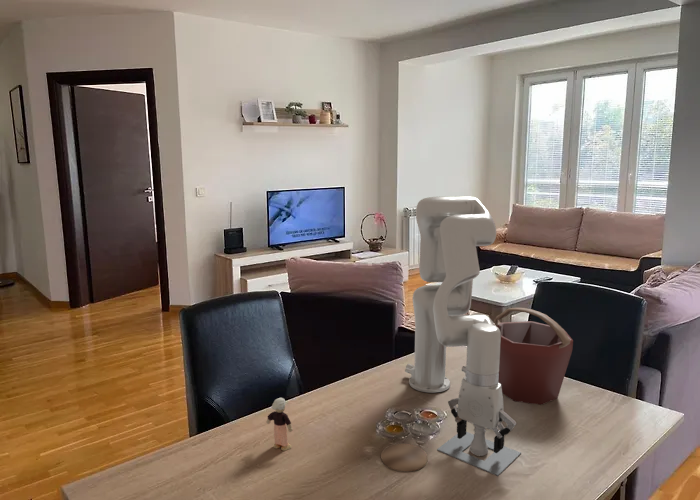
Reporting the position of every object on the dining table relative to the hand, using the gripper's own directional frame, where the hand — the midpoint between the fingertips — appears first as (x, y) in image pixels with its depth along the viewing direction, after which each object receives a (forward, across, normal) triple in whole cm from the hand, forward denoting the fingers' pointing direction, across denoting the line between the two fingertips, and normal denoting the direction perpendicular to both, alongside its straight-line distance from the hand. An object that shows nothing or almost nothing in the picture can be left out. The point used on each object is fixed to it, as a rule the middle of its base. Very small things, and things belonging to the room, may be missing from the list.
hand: (479, 443), depth 129 cm
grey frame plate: (+2, 0, 0) cm, 2 cm away
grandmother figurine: (+2, -38, -30) cm, 48 cm away
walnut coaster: (+2, -12, -14) cm, 19 cm away
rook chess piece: (+2, 0, 0) cm, 2 cm away
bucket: (+2, -5, +40) cm, 40 cm away
